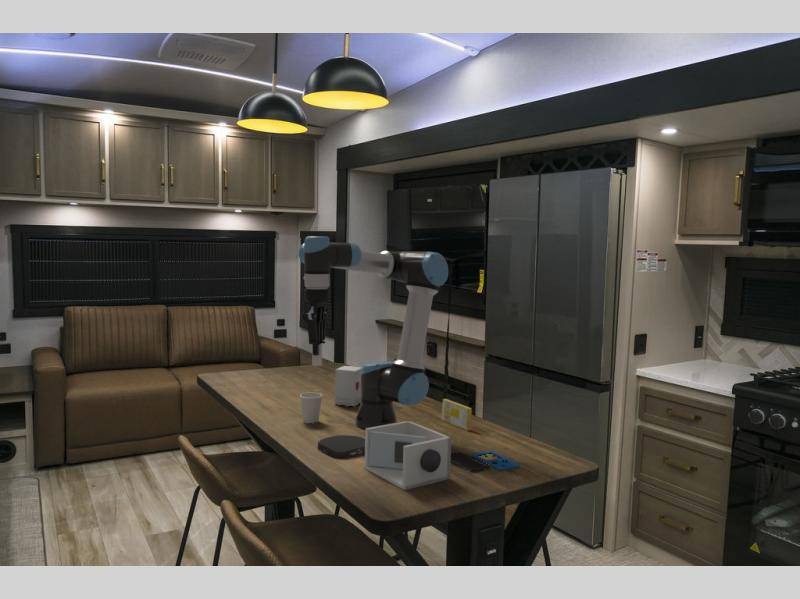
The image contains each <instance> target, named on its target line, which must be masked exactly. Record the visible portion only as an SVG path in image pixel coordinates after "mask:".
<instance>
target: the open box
mask: <svg viewBox="0 0 800 599" xmlns="http://www.w3.org/2000/svg"><path fill="white" fill-rule="evenodd" d="M364 430H365V431H364V433H365V435H364V436H365V438H364V439H365V454H364V469H365V470H367V471H368V472H371V473H372V474H374V475H376V476H378V477H380V478H382V479H383V480H385V481H387V482H388V483H390V484H392V485H394V486H396V487H398V488H400V489H401V490H403V491H409V490H414V489H417V488H419V487H424V486H428V485H431V484H435V483H439V482H443V481H447V480H450V479H451V453H452V437H450V436H448V435H445V434H444V433H440V432H438V431H435V430H433V429H431V428H429V427H426V426H423V425H420V424H418V423H415V422H413V421H411V420H406V421H401V422H397V423H393V424H388V425H382V426H377V427H371V428H365V429H364ZM370 431H375V432H385V433H395V434H404V435H414V436H424V437H426V441H425V442H420V443H415V444H410V445H406V446H403V469H396V468H387V467H379V466H370V465H369V451H370Z"/></svg>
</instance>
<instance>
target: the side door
mask: <svg viewBox="0 0 800 599" xmlns="http://www.w3.org/2000/svg"><path fill="white" fill-rule="evenodd" d="M425 441H426V437H424V436H414V435H404V434H395V433H385V432H375V431H370V451H369V465H370V466H379V467H387V468H396V469H403V446H406V445H410V444H415V443H420V442H425Z"/></svg>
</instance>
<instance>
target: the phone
mask: <svg viewBox="0 0 800 599" xmlns="http://www.w3.org/2000/svg"><path fill="white" fill-rule="evenodd" d="M450 465H453V466H455V467H458V468H459V467H460V469H462V470H464V471H466V472H468V471H469V472H468V473H471V472H473V473H474V472H475V473H479V472H483V471H486V470H490V467H491V466H490V465H488V464H486V463H484V462H482V461H480V460H479V459H477V458H475V457H473V456H469V455H468V454H467V455H466V454H465V453H462V452H451V463H450ZM485 469H486V470H485ZM478 471H479V472H478ZM473 473H472V474H473Z"/></svg>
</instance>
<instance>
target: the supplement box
mask: <svg viewBox="0 0 800 599" xmlns="http://www.w3.org/2000/svg"><path fill="white" fill-rule="evenodd" d="M334 372H335V374H334V375H335V376H334V377H335V378H334V380H335V381H334V385H335V386H334V405H335V404H338V405H337V406H340V405H345V406H344V407H349V406H355V407H357V406H358V404H359V403H360V404H361V373H362V366H361V367H360V366H349V365H343V366H340V367H338V368H336V369H335V370H334ZM360 404H359V405H360ZM356 405H357V406H356Z"/></svg>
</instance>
